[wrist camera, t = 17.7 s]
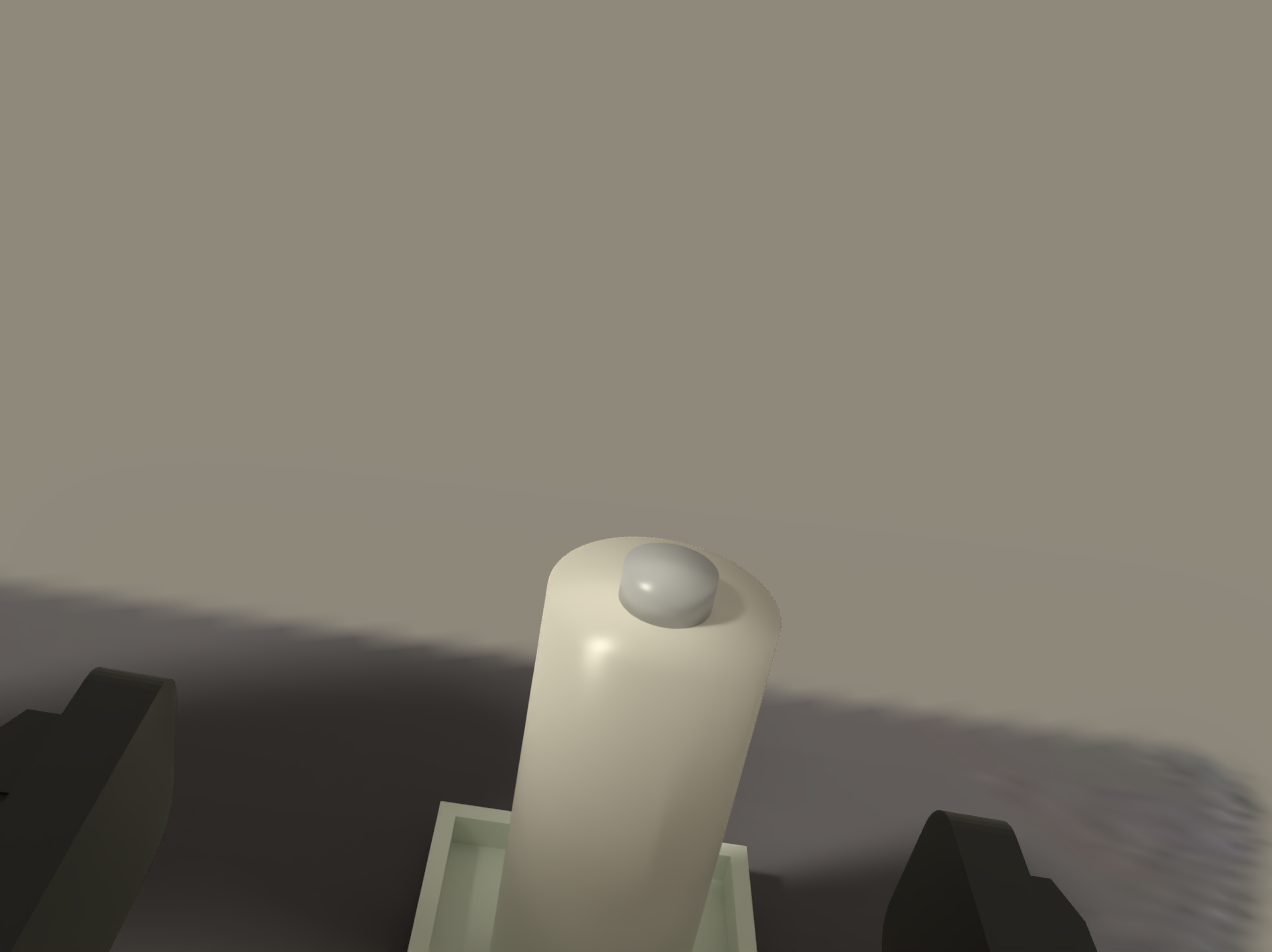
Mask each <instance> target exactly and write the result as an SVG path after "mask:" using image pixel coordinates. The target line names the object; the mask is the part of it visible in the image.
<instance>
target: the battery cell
mask: <svg viewBox="0 0 1272 952" xmlns="http://www.w3.org/2000/svg"><path fill="white" fill-rule="evenodd" d="M780 631H781V616H780V612H779V609H778V606H777V604H776V602H775V600H774V599H773V597H772V596H771V594H770V592H769V591H768V590H767V589H766V588H765V587H764V586H763V584H762V583H760V582H759V581H758V580H757V579H756V578H755V577H754V576H753V575H752V574H750V573H749V572H747V571H746V570H745V569H743V568H742V567H740V566H739V565H737V564H735V563H734V562H732V561H730V560H728V559H726V558H724V557H722V556H720V555H718V554H716V553H713V552H711V551H708V550H706V549H703V548H700V547H697V546H694V545H690V544H686V543H683V542H678V541H673V540H668V539H661V538H653V537H617V538H609V539H604V540H599V541H595V542H592V543H588V544H586V545H583V546H581V547H578V548H577V549H575V550H573V551H571V552H569V553H568V554H567V555H565V556H564V557H563V558H562V559H560V561H559V562H558V563H557V564H556V565H555V566H554V568H553V570H552V572H551V574H550V577H549V580H548V585H547V591H546V598H545V604H544V610H543V617H542V623H541V629H540V636H539V642H538V648H537V655H536V661H535V667H534V674H533V680H532V686H531V692H530V699H529V705H528V711H527V718H526V724H525V730H524V737H523V743H522V749H521V756H520V762H519V768H518V775H517V781H516V787H515V794H514V800H513V806H512V813H511V819H510V825H509V832H508V838H507V844H506V850H505V857H504V863H503V869H502V876H501V882H500V888H499V895H498V901H497V907H496V914H495V920H494V926H493V933H492V939H491V945H490V952H692V950H693V946H694V943H695V939H696V936H697V932H698V928H699V925H700V921H701V918H702V914H703V910H704V907H705V903H706V900H707V896H708V892H709V889H710V885H711V882H712V878H713V874H714V871H715V867H716V863H717V860H718V856H719V853H720V849H721V845H722V842H723V838H724V835H725V831H726V827H727V824H728V820H729V817H730V813H731V809H732V806H733V802H734V799H735V795H736V791H737V788H738V784H739V780H740V777H741V773H742V770H743V766H744V762H745V759H746V755H747V752H748V748H749V744H750V741H751V737H752V734H753V730H754V726H755V723H756V719H757V715H758V712H759V708H760V705H761V701H762V697H763V694H764V690H765V687H766V683H767V679H768V676H769V672H770V668H771V665H772V661H773V657H774V654H775V651H776V647H777V643H778V640H779V636H780Z"/></svg>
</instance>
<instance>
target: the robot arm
mask: <svg viewBox="0 0 1272 952" xmlns="http://www.w3.org/2000/svg"><path fill="white" fill-rule="evenodd" d="M175 727H176V686H175V682H174V681H173V680H172V679H168V678H162V677H156V676H150V675H144V674H138V673H132V672H126V671H120V670H114V669H108V668H102V667H97V668H95V669H94V670H92V671H91V672H90V673H89V675H88V676H87V677H86V679H85V680H84V682H83V683H82V685H81V686H80V688H79V689H78V691H77V692H76V694H75V695H74V697H73V698H72V700H71V701H70V703H69V704H68V706H67V707H66V709H65V710H64V712H63V713H62V715H60V714H53V713H47V712H41V711H35V710H29V709H27V710H26V711H24V712H23V713H21V714H20V715H18V716H17V717H15V718H14V719H12V720H11V721H9V722H8V723H6V724H5V725H3V726H2V727H0V952H109V951H110V949H111V947H112V945H113V942H114V940H115V938H116V936H117V934H118V932H119V930H120V928H121V926H122V924H123V922H124V920H125V918H126V915H127V913H128V911H129V909H130V907H131V905H132V903H133V901H134V899H135V897H136V895H137V893H138V891H139V888H140V886H141V884H142V882H143V880H144V878H145V876H146V874H147V872H148V870H149V868H150V866H151V863H152V861H153V859H154V857H155V855H156V853H157V851H158V848H159V846H160V843H161V841H162V838H163V835H164V832H165V829H166V826H167V822H168V818H169V814H170V809H171V804H172V799H173V790H174V762H175ZM882 952H1097V950H1096V947H1095V945H1094V942H1093V940H1092V937H1091V935H1090V932H1089V930H1088V927H1087V925H1086V923H1085V921H1084V920H1083V918H1082V917H1081V916H1080V915H1079V913H1078V912H1077V911H1076V910H1075V908H1074V907H1073V906H1072V905H1071V904H1070V902H1069V901H1068V900H1067V899H1066V897H1065V896H1064V895H1063V894H1062V892H1061V891H1060V890H1059V889H1058V887H1057V886H1056V885H1055V884H1054V882H1053V881H1052V880H1051V879H1048V878H1042V877H1036V876H1030V874H1029V871H1028V868H1027V865H1026V863H1025V860H1024V857H1023V854H1022V852H1021V849H1020V846H1019V844H1018V841H1017V838H1016V835H1015V833H1014V831H1013V829H1012V828H1011V826H1010V825H1009V824H1008V823H1007V822H1005V821H1001V820H995V819H989V818H983V817H977V816H971V815H965V814H959V813H953V812H947V811H941V810H937V811H935V812H933V813H932V814H931V815H930V817H929V818H928V820H927V821H926V823H925V825H924V828H923V830H922V832H921V834H920V837H919V839H918V841H917V843H916V845H915V848H914V850H913V852H912V854H911V856H910V859H909V861H908V863H907V865H906V868H905V870H904V872H903V874H902V876H901V879H900V881H899V883H898V885H897V887H896V890H895V892H894V894H893V896H892V898H891V901H890V903H889V906H888V909H887V912H886V916H885V921H884V927H883V936H882Z"/></svg>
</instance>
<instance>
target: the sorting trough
mask: <svg viewBox="0 0 1272 952" xmlns="http://www.w3.org/2000/svg"><path fill="white" fill-rule="evenodd" d="M511 813H512V812H511V811H504V810H498V809H491V808H484V807H477V806H471V805H464V804H457V803H450V802H444V801H441V802H440V807H439V811H438V816H437V820H436V825H435V829H434V834H433V838H432V843H431V847H430V852H429V857H428V861H427V866H426V870H425V875H424V879H423V884H422V888H421V893H420V897H419V902H418V906H417V911H416V915H415V920H414V924H413V929H412V933H411V938H410V942H409V947H408V951H407V952H490V945H491V939H492V933H493V926H494V920H495V914H496V907H497V901H498V895H499V888H500V882H501V876H502V869H503V863H504V857H505V850H506V844H507V838H508V832H509V825H510V819H511ZM692 952H757V946H756V936H755V927H754V917H753V907H752V897H751V887H750V877H749V867H748V857H747V847H746V846H741V845H734V844H727V843H722V845H721V849H720V853H719V856H718V860H717V863H716V867H715V871H714V874H713V878H712V882H711V885H710V889H709V892H708V896H707V900H706V903H705V907H704V910H703V914H702V918H701V921H700V925H699V928H698V932H697V936H696V939H695V943H694V946H693V950H692Z"/></svg>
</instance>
